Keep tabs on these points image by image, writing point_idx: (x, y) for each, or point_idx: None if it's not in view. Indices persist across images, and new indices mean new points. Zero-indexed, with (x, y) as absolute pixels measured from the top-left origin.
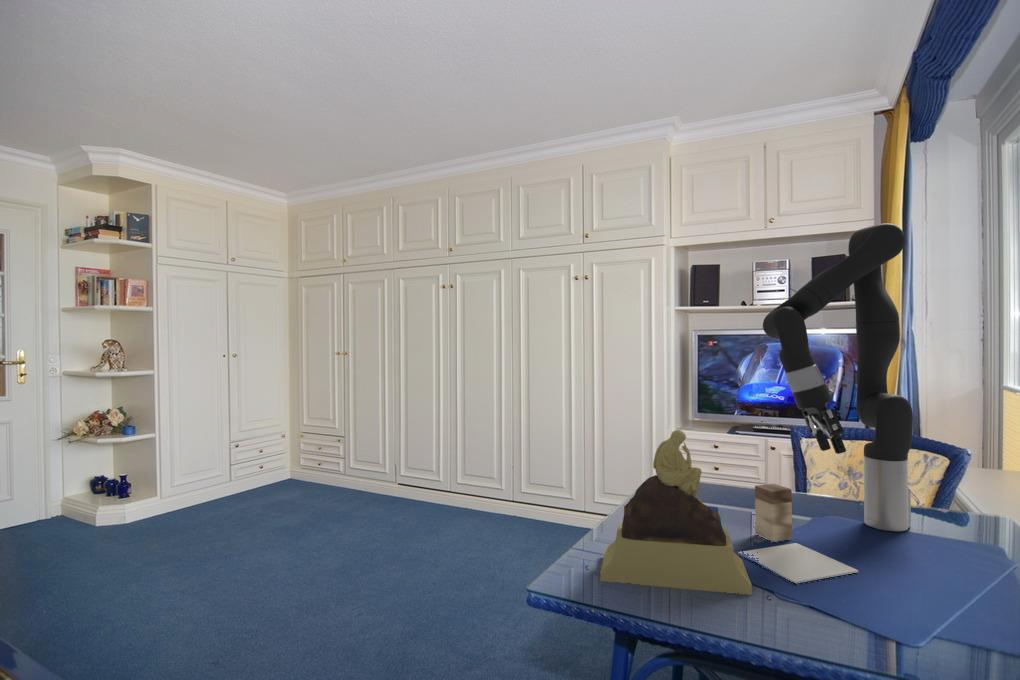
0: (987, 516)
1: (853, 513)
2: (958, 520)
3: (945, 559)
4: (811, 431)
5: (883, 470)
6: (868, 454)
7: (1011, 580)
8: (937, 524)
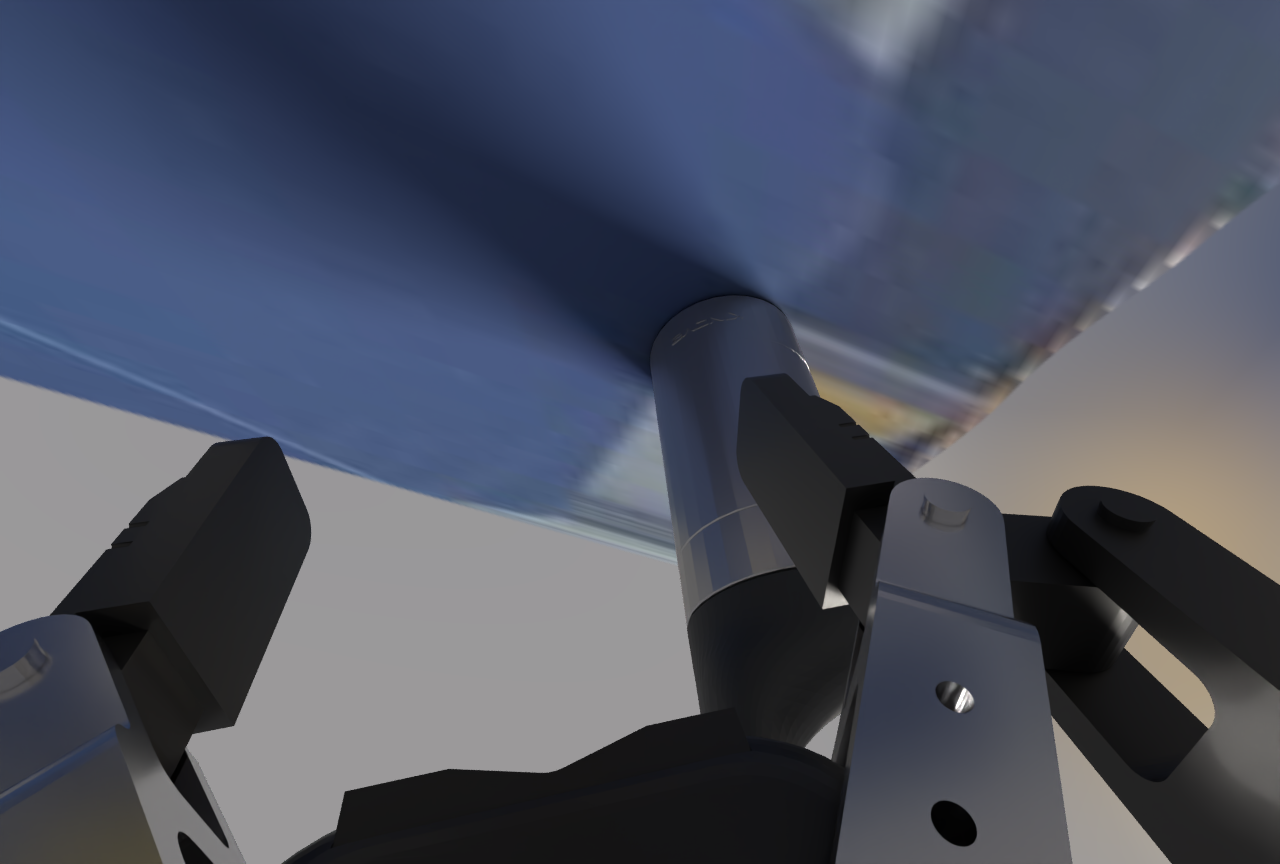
0: None
1: (885, 305)
2: None
3: (388, 383)
4: (1064, 528)
5: (699, 543)
6: (794, 588)
7: None
8: None
